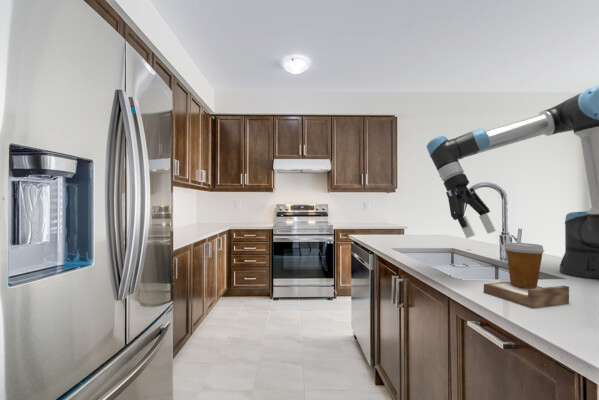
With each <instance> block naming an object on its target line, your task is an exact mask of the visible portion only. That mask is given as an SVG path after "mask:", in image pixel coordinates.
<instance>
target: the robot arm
mask: <svg viewBox="0 0 599 400" xmlns="http://www.w3.org/2000/svg"><path fill="white" fill-rule="evenodd" d="M571 131H572V132H573V134H574V135H575V136H577V137H579V138H580V141H581V149H582V156H583V160H584V166H585V167H584V169H585V172H586V179H587V186H588V192H589V197H590V204H591V207H590V209H589V210H588V211H587V210H586V211H574V212H573V211H572V212H568V213H567V214H566V215H565V218H564V220H565V221H564V224H565V225H564V227H565V228H564V229H565V230H564V232H565V234H564V236H565V237H564V238H565V239H564V240H565V242H564V244H565V249H564V250H565V252H564V254H563V256H562V259H561V261H560V264H559V269H558V270H559V273H561V274H564V275H567V276H573V277H576V278H577V277H578V278H585V279H598V280H599V85H597V86H594V87H591V88H588V89H585V90H584V91H582V92H580V93H579V94H577V95H574V96H571V97H570V98H568V99H566V100H564V101H563V102H561V103H559V104H557V105H554V106H553V107H550V108H547V109H544V110H541V111H540V112H539V113H538V114H537V115H534V116H531V117H527V118H525V119H524V118H523V119H521V120H518V121H514V122H511V123H507V124H504V125H501V126H498V127H495V128H490V129H487V130H485V129H484V128H477V129H475V130H472V131H470V132H466V133H464V134H461V135H460V136H456V137H455V138H451V139H448V138H447V137H446V136H445V135H441V136H437V137H435V138H432V139H431V140H430V141H429V142H428V143H427V145H426V149H427V151H428V154H429V157H430V158H431V160H432V162H433V164H434V166H435V168H436V170H437V172H438V174H439V177H440V178H441V181H442V182H443V185H444V187H445V190H446V196H447V199H448V206H449V211H450V212H449V213H450V216H451V218H452V219H453V220H454V221H457V222H458V223H459V226H460V227H461V230H462V232H463V235H464V236H465V238H466V239H469V238H472V237H474V236H476V234H475V230H474V229H473V227H472V225H471V222H470V221H469V219H468V217H467V216H466V215H465V204H466V205H469V206H470V207H471V208H472V209H473V210H474V211H475V212H476V213H477V214H478V215H479V216H478V218H479V219H480V222H481V223H482V225H483V227H484V229H485V231H486V233H487V234H488V235H489V234H491V233H494V232H497V230H496V227H495V226H494V224H493V222H492V220H491V218H490V216H489V213H490V212H491V211H490V209H489V207H488V206H487V205H486V203H485V202H484V200H483V199H481V198H480V196H479V195H478V193H477V192H476V191H475V189H474V188H473V187H471V188H468V185H469V184H470V180H469V179H468V176H467V174H465V173H464V172H465V170H464V169H463V167H462V165H461V163H460V161H459V160H462V159H464V158H467V157H471V156H474V155H478V154H481V153H484V152H487V151H491V150H494V149H499V148H501V147H504V146H508V145H511V144H516V143H518V142H523V141H527V140H529V139H532V138H536V137H540V136H542V135H545V136H549V137H550V136H552V135H556V134H561V133H565V132H566V133H567V132H571Z"/></svg>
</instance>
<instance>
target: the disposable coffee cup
mask: <svg viewBox="0 0 599 400" xmlns="http://www.w3.org/2000/svg"><path fill="white" fill-rule="evenodd" d="M504 248H505V251H506V257H507V266H508V273H509V280H510V281H509V282H510V284H512V285H514V286H518V287H524V288H537V286H538V282H539V276H540V272H541V271H540V270H541V263H542V258H543V254H544V252H545V249H544V247H543V245H541V244H538V243H537V244H535V243H528V242H527V243H525V242H506V245H505V246H504Z"/></svg>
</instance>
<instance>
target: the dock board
mask: <svg viewBox="0 0 599 400" xmlns="http://www.w3.org/2000/svg"><path fill="white" fill-rule="evenodd" d="M483 293H485V294H488V295H491V296H494V297H497V298H500V299H503V300H506V301H508V302H512V303H515V304H518V305H520V306H525V307H527V308H531V309H538V308H544V307H545V308H546V307H553V306H561V305H569V304H570V286H568V285H558V286H548V287H547V286H545V287H541V286H538V285H537V288H524V287H518V286H514V285H512V284H510V281H502V282H501V281H500V282H490V283H489V282H488V283H484V284H483Z"/></svg>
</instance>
